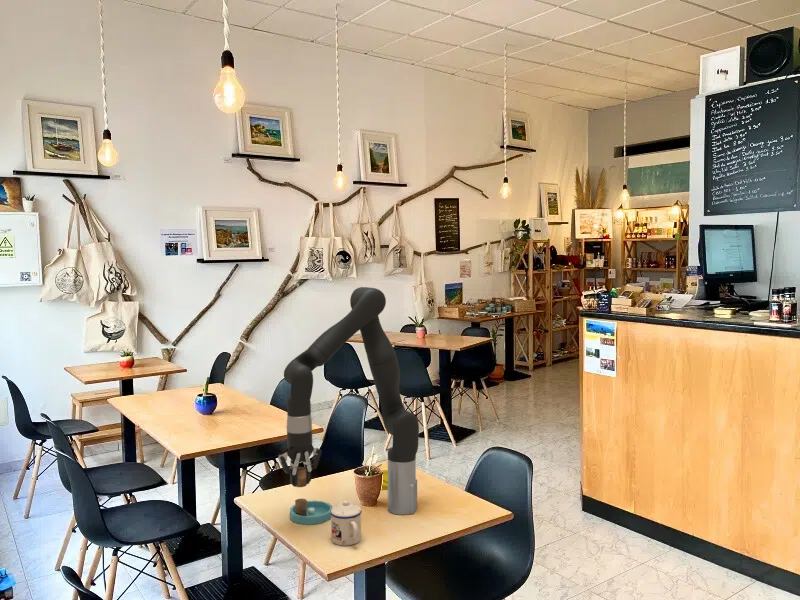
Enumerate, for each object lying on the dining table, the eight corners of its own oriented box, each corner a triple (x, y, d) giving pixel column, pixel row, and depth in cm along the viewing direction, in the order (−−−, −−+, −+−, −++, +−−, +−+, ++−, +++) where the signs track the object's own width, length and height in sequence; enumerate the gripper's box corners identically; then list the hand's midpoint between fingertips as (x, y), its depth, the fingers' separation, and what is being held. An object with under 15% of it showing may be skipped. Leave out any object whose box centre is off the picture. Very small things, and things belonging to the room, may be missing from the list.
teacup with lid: (326, 536, 192) (325, 498, 191) (354, 530, 196) (353, 493, 195) (341, 553, 181) (341, 513, 180) (370, 546, 185) (370, 507, 184)
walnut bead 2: (304, 512, 207) (304, 497, 207) (308, 516, 204) (308, 501, 204) (293, 515, 205) (293, 499, 205) (298, 519, 202) (297, 503, 202)
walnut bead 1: (308, 483, 196) (308, 467, 196) (304, 487, 193) (303, 471, 192) (297, 482, 197) (297, 466, 197) (292, 486, 194) (292, 470, 193)
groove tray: (338, 509, 212) (338, 502, 212) (323, 526, 198) (323, 519, 198) (300, 506, 215) (299, 499, 215) (283, 522, 202) (282, 515, 202)
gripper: (281, 435, 187) (283, 493, 188) (326, 428, 194) (327, 483, 195) (272, 429, 193) (274, 485, 194) (316, 422, 200) (317, 476, 202)
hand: (300, 484), depth 195 cm, fingers closed on walnut bead 1, 3 cm apart
